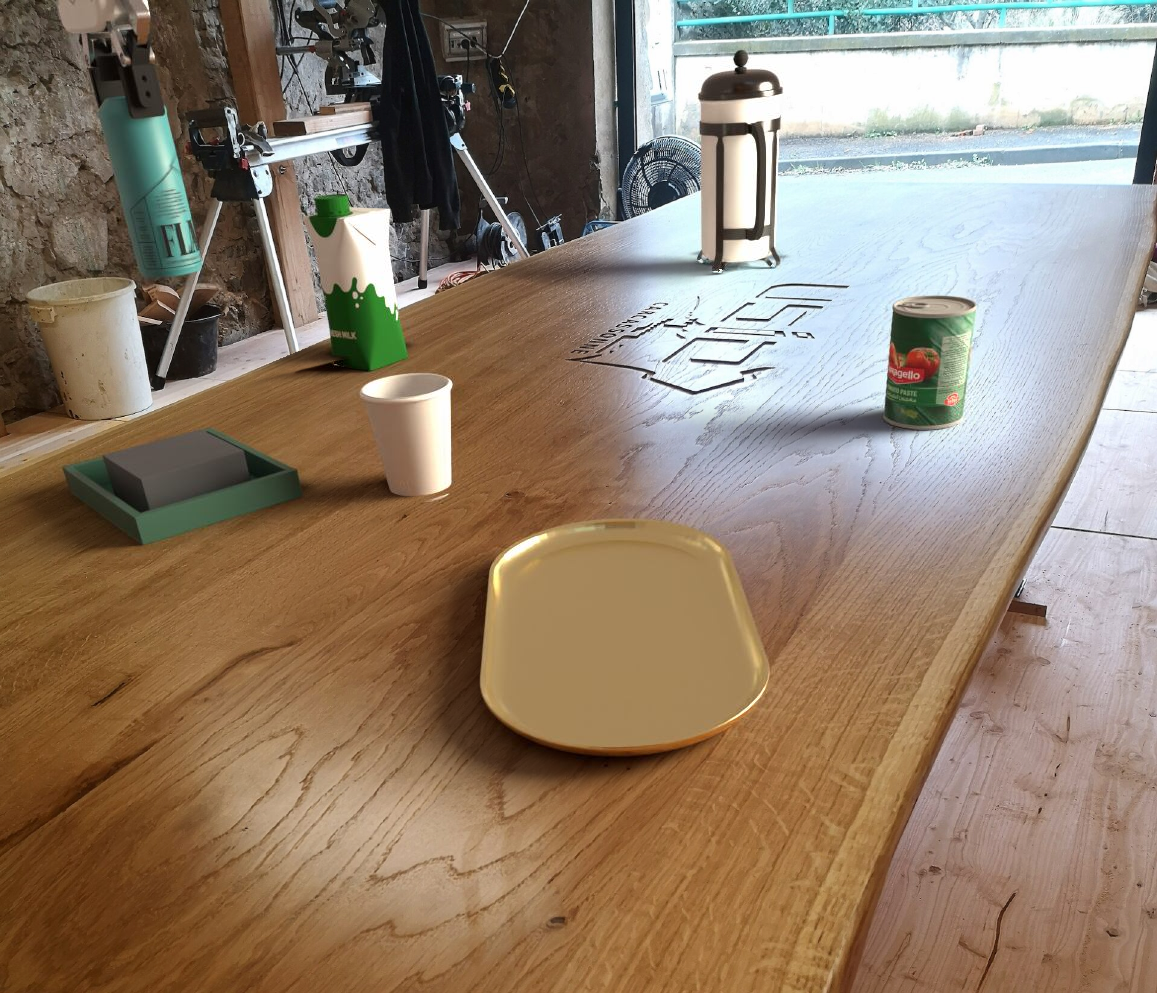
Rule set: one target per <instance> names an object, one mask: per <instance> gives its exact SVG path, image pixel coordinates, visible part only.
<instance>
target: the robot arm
mask: <svg viewBox="0 0 1157 993" xmlns="http://www.w3.org/2000/svg"><path fill="white" fill-rule="evenodd" d="M56 4H57V9H58V13H59V17H60V20H61V24H62V26H63V28H64V29H65V30H66V31H68V32H69V33H71V34H72V35H77V36H78V43H79V45H80V46H81V48H82V51H83V58H84V62H85V65H86V67H87V71H88V74H89V78H90V81H91V85H92V88H93V92H94V97H95V101H96V104H97V109H98V110H99V108H100V106H101V105H102V103H103V102H104V100H105V99H106V98H112V97H120V96H125V98H126V102H127V106H128V110H129V114H130V116H131V117H132V118H133V119H141V118H150V117H159V116H164V115H165V108H164V106H165V104H164V98H163V95H162V91H161V86H160V82H159V77H158V74H157V70H156V65H155V63H156V58H155V53H154V51H153V48H152V46H151V45H152V38H153V37H152V36H151V32H150V30H151V29H150V28H151V14H150V9H149V3H148V0H56ZM124 38H125V40H124ZM103 39H105V42H104V40H103ZM114 52H117V54H118V56H119V59H120V61H121V64H122V65H123V67H118V70H119V74H120V78H121V80H117V81H100V77H99V70H98V65H97V58H96V57H98V56H101V55H105V54H109V53H114Z"/></svg>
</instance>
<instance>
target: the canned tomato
mask: <svg viewBox="0 0 1157 993" xmlns="http://www.w3.org/2000/svg"><path fill="white" fill-rule="evenodd" d="M891 306H892V307H891V308H892V316H891V323H890V324H891V325H890V339H889V350H888V362H887V373H886V381H885V382H886V386H885V397H884V408H883V409H884V411H883V414H882V417H883V420H884V422H886V423H888V424H890V425H892V426H895V427H898V428H901V429H909V430H921V431H922V430H923V431H927V430H928V431H931V430H942V429H947V428H950V427H954V426H957V425H958V424H960V423H961V422H962V421H963V419H964V408H965V401H966V394H967V385H968V378H969V369H970V361H971V354H972V345H973V336H974V328H975V319H976V310H977V308H978V305H977V302H976V301H974V300H972V299H969V298H965V297H961V296H956V295H955V296H954V295H940V294H939V295H937V294H936V295H934V294H933V295H918V296H912V297H906V298H901V299H899V300H896V301H895V302H894V303H892V305H891Z"/></svg>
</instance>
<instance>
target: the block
mask: <svg viewBox="0 0 1157 993" xmlns="http://www.w3.org/2000/svg"><path fill="white" fill-rule="evenodd" d="M203 430H204V429H201V428H199V429H195V430H192V431H188V432H184V433H181V434H177V435H173V436H169V437H165V438H161V439H158V440H155V441H150V442H147V443H146V442H145V443H143V444H139V445H135V446H131V447H128V448H124V449H120V450H116V451H112V452H109V453H105V454H102V455H101V456H103V459H104V462H105V466H106V469H107V472H108V475H109V479H110V482H111V485H112V488H113V491H114V495H115V496H117V497H118V498H120V499H121V500H123V501H124V502H126V503H127V504H129V505H130V506H131V507H133V508H134V509H136V510H137V511H139V512H140V513H142V512H146V511H149V510H152V509H156V508H159V507H163V506H166V505H169V504H173V503H176V502H180V501H183V500H186V499H190V498H193V497H197V496H200V495H203V494H207V493H210V492H214V491H217V490H220V489H224V488H227V487H230V486H234V485H237V484H241V483H244V482H247V481H250V476H249V472H248V468H247V464H246V460H245V455H244V451H243V450H241V449H239V448H237V447H235V446H233V445H231V444H229V443H227V442H225V441H223V440H221V439H219V438H217V437H215V436H213V435H211V434H209V433H207V432H205V431H203Z"/></svg>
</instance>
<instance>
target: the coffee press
mask: <svg viewBox="0 0 1157 993" xmlns="http://www.w3.org/2000/svg"><path fill="white" fill-rule="evenodd" d="M749 59H750V57H749V55H748V53H747V51H746V50H744V49H739V50H737V51H736V52H735V53H734V55H733V58H732V61H733V64H734V65H735V66H736V67H735V68H734V70H725V71H720V72H716V73H713V74H711V75H710V76H708V77H707V78H706V79H704V81H703V83H702V85H701V89H700V91H699V92H698V94H697V96H698V97H697V99H698V101H699V103H700V120H699V122H698V124H699V126H698V127H699V130H698V131H699V135H700V200H701V201H700V211H701V212H700V216H701V217H700V219H701V220H700V225H701V226H700V227H701V228H700V229H701V230H700V231H701V232H700V233H701V235H700V236H701V250H700V251H699V253H698V255H697V257H696V261H697V260H700V259H702V260H703V256H704V257H705V258H706V259H705V260H704V261H706V260H708V261H709V260H710V261H713V263H712V266H711V271H718V272H719V271H720V270H719V269H722V270H724V271H725V268H726V266H727V264H729V263H744V262H751V261H763V262H764V263H766V265H767V266H768V267H769V266H771V265H772V264H774V263H773V262H772V260H770V259H769V256H770V255H772V257H773V259H774V261H775V268H777V267H776V266H778V267H779V266H780V265H781V262H782V260H781V258H780V256H779V254H778V253H777V251H776V234H777V209H778V208H777V207H778V178H779V177H778V175H779V174H778V173H779V142H780V140H779V139H780V130H781V126H782V124H781V123H782V115H780V109H781V108H780V107H781V105H780V104H781V97H782V96H783V93H784V88H783V87H782V86H781V83H780V79H779V77H778V76H777V75H776V74H775V73H774V72H773V71H770V70H767V69H762V68H760V69H759V68H752V69H751V68H750V69H749V68H747V67H746V65H747V64H748V62H749V61H748V60H749ZM767 257H768V258H767Z"/></svg>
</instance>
